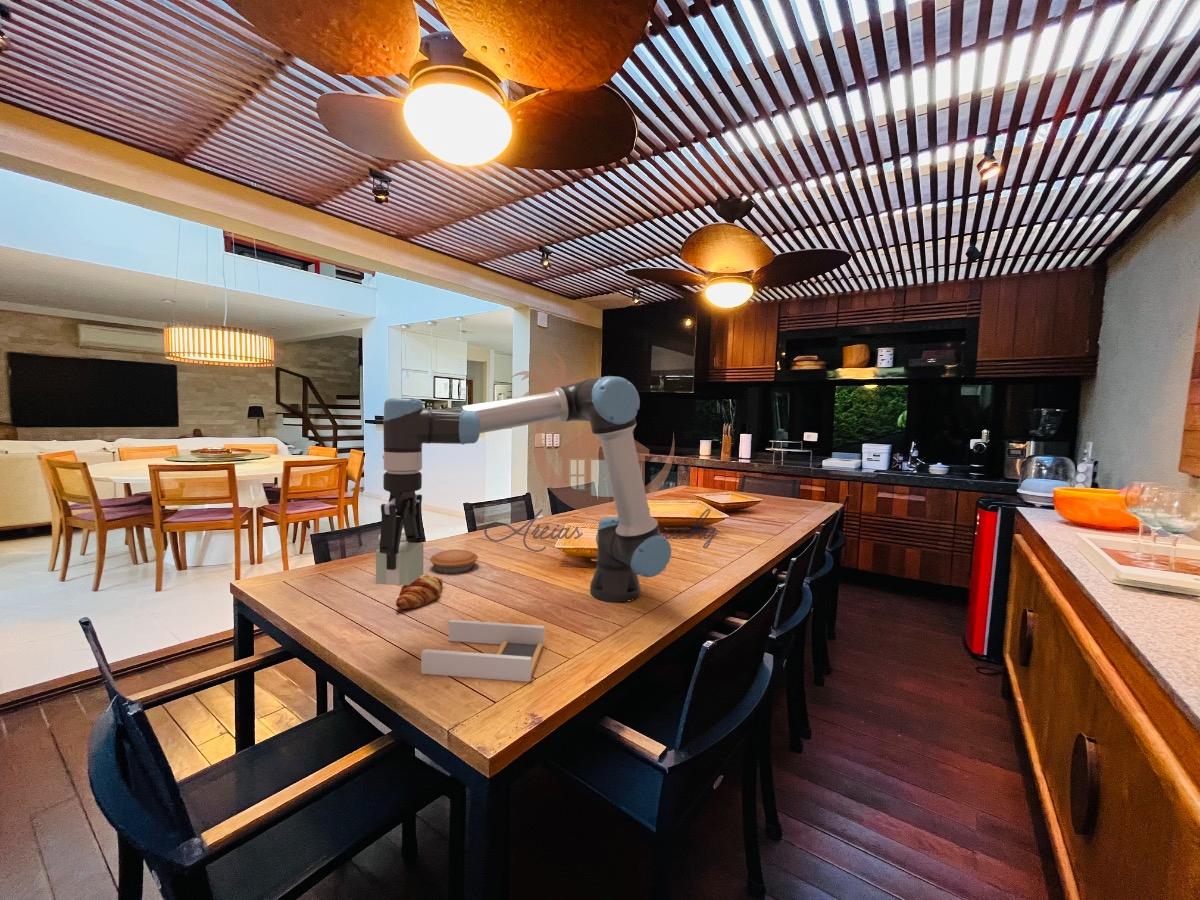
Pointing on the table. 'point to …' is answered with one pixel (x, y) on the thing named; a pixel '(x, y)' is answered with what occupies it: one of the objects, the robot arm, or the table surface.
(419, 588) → the croissant
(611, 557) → the robot arm
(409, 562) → the block
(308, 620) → the table surface
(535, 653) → the drawer
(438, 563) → the pie
